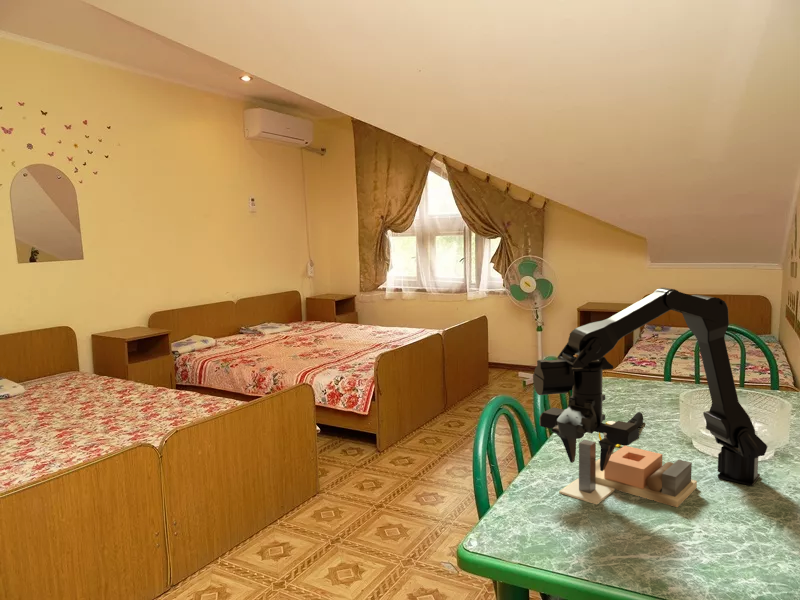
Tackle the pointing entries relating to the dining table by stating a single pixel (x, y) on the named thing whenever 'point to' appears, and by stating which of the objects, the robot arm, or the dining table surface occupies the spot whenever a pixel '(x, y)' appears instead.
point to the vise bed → (645, 490)
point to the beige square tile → (592, 497)
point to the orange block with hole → (632, 466)
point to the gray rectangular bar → (587, 466)
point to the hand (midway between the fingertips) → (587, 466)
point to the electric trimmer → (637, 420)
